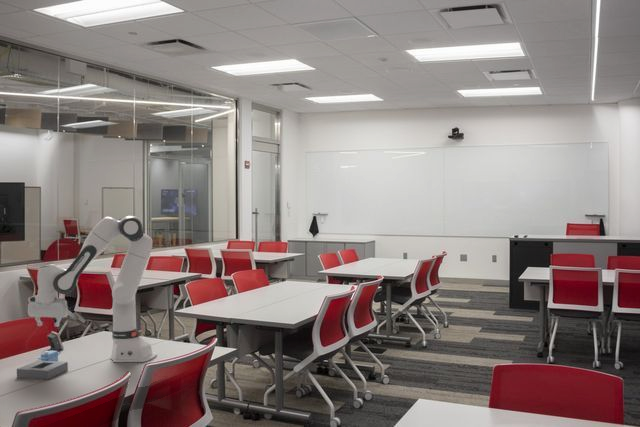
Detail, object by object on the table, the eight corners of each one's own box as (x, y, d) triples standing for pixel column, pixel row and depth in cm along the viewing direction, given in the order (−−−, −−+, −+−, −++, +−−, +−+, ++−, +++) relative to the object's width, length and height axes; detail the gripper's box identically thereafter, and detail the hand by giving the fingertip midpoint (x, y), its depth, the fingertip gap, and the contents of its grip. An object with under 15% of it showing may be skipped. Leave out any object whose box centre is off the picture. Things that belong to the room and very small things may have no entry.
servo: (60, 361, 289) (60, 347, 289) (45, 368, 278) (45, 353, 278) (53, 361, 290) (53, 347, 290) (38, 367, 279) (38, 353, 279)
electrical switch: (64, 349, 311) (61, 332, 311) (54, 352, 308) (51, 335, 307) (57, 346, 318) (55, 330, 317) (47, 349, 315) (45, 332, 314)
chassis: (67, 370, 274) (67, 361, 274) (47, 379, 260) (47, 370, 260) (38, 368, 277) (37, 360, 277) (16, 377, 264) (16, 369, 264)
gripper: (70, 297, 284) (71, 325, 284) (34, 296, 288) (34, 323, 289) (62, 299, 278) (63, 328, 278) (25, 298, 282) (25, 326, 282)
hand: (48, 326), depth 283 cm, fingers open, 8 cm apart
